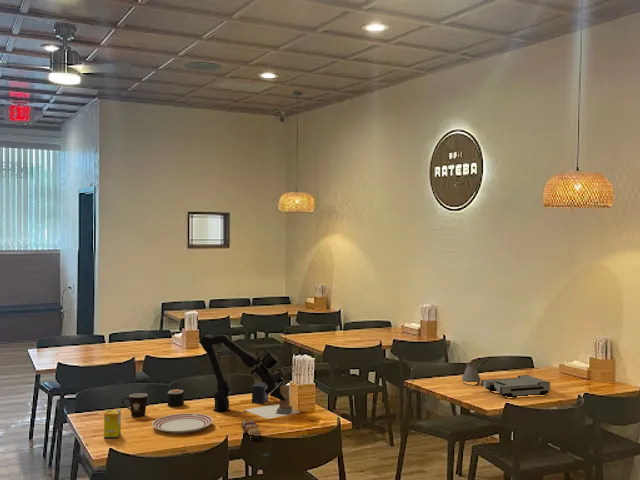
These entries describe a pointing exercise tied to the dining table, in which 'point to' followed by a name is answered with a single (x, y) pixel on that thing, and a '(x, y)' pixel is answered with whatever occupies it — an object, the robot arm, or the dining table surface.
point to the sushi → (175, 398)
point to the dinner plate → (182, 422)
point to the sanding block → (284, 404)
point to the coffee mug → (137, 404)
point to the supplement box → (112, 424)
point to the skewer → (250, 428)
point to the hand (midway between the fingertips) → (286, 398)
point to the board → (268, 411)
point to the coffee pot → (472, 372)
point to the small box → (259, 393)
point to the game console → (517, 386)
